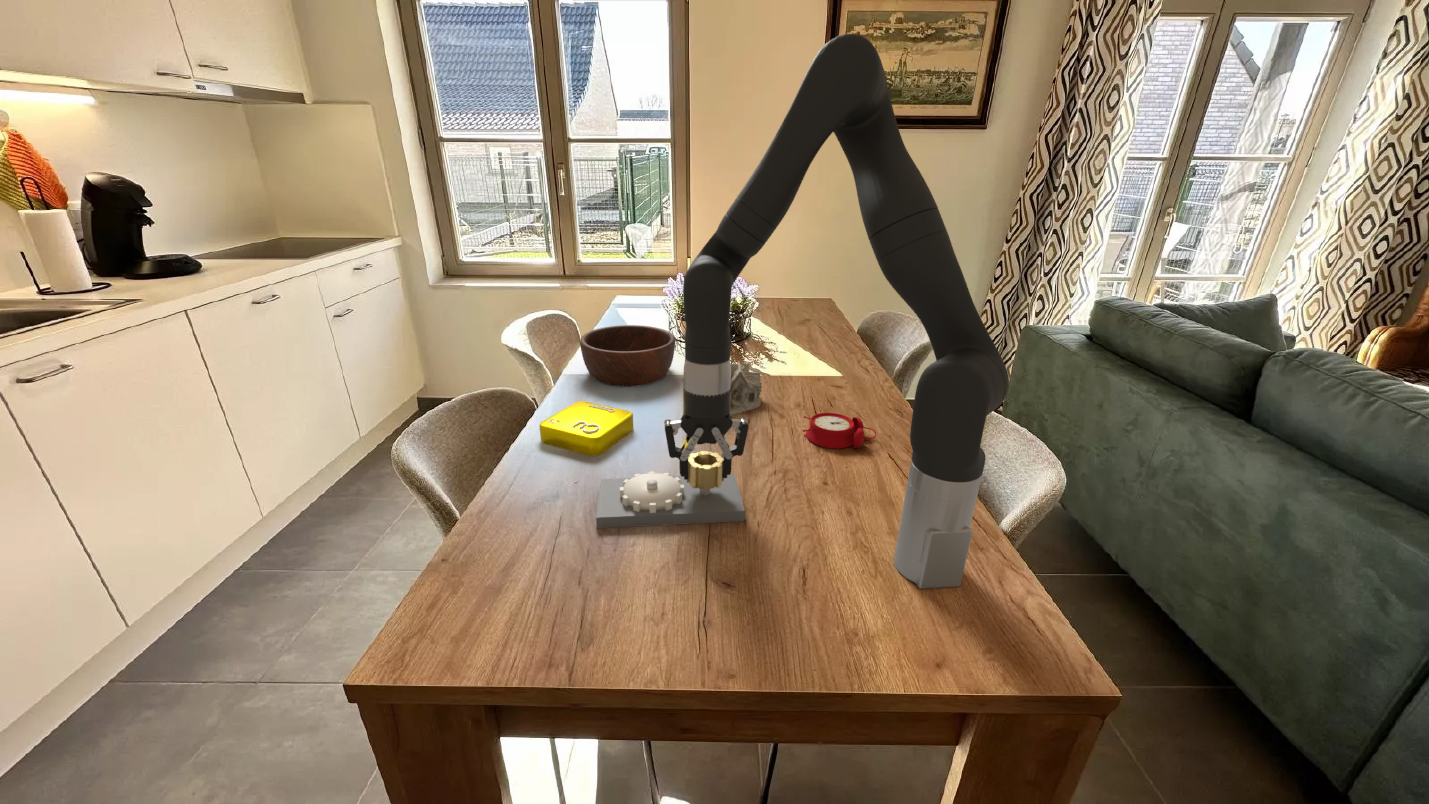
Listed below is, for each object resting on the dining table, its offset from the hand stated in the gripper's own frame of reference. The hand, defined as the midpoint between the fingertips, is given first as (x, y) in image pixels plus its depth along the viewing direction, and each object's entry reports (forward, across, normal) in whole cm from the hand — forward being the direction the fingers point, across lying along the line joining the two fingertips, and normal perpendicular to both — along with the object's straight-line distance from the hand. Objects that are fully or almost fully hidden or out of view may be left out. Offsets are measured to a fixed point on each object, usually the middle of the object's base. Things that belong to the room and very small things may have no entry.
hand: (705, 476), depth 101 cm
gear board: (+5, -6, 0) cm, 8 cm away
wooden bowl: (+6, -14, +65) cm, 67 cm away
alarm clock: (+6, +31, +23) cm, 39 cm away
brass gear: (+1, 0, 0) cm, 1 cm away
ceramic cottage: (+6, +10, +42) cm, 44 cm away
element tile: (+6, -22, +28) cm, 36 cm away
